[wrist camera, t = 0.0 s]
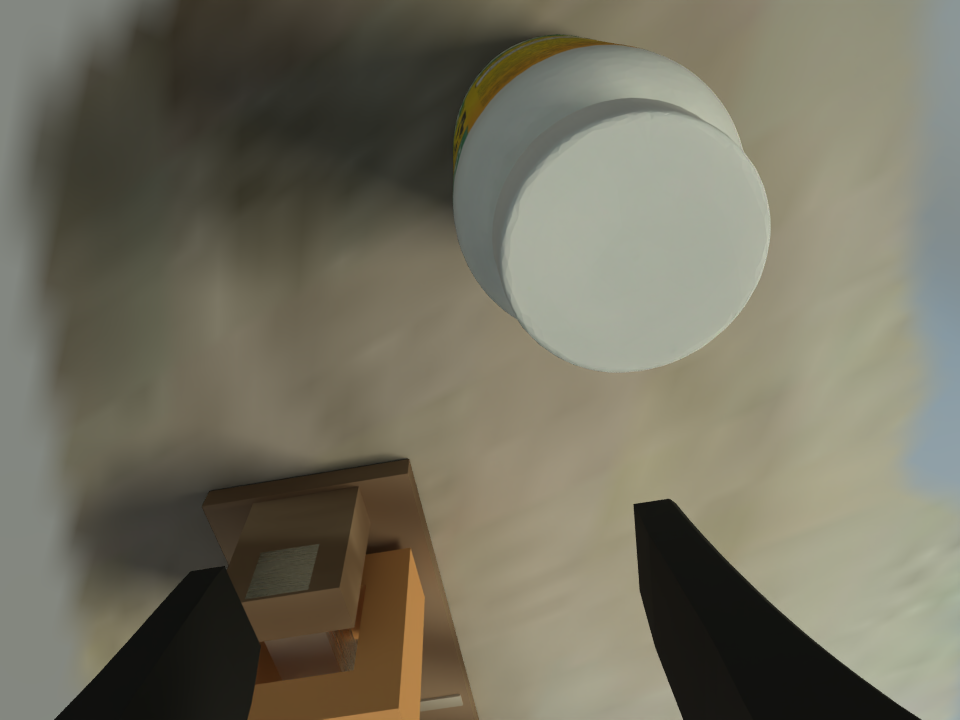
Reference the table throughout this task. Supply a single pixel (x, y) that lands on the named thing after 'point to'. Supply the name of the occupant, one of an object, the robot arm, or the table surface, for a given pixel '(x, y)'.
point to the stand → (341, 562)
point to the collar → (361, 656)
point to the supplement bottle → (606, 202)
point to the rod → (307, 651)
